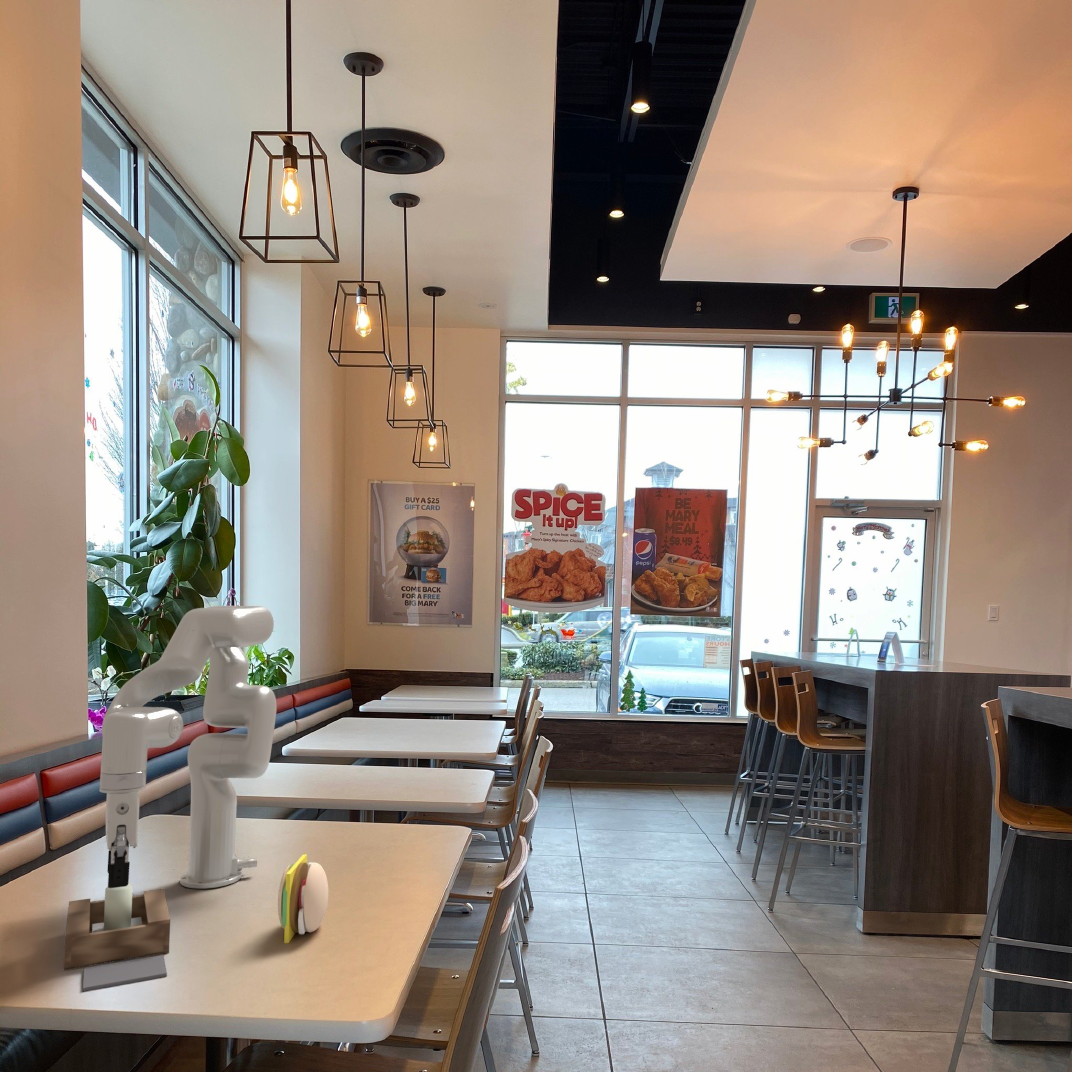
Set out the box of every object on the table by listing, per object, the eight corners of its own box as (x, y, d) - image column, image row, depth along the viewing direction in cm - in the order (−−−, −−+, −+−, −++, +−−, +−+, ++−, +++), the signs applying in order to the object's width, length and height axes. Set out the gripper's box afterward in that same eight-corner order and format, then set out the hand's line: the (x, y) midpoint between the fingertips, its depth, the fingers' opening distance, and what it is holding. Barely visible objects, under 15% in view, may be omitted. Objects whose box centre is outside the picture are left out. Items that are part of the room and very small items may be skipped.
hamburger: (318, 942, 151) (319, 873, 152) (271, 943, 151) (273, 874, 152) (332, 918, 163) (334, 854, 164) (289, 918, 163) (291, 854, 164)
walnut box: (162, 918, 162) (163, 888, 163) (169, 952, 146) (170, 919, 147) (67, 932, 155) (69, 901, 156) (63, 970, 139) (65, 935, 140)
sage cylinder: (130, 921, 154) (132, 882, 155) (131, 929, 150) (132, 889, 151) (103, 925, 152) (105, 885, 153) (103, 934, 148) (105, 892, 149)
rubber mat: (163, 958, 144) (163, 954, 144) (166, 976, 137) (166, 973, 137) (83, 971, 139) (84, 968, 139) (82, 991, 132) (83, 988, 132)
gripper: (148, 787, 147) (142, 889, 145) (143, 772, 162) (138, 864, 161) (99, 791, 144) (93, 896, 142) (99, 775, 159) (94, 869, 157)
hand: (117, 879), depth 151 cm, fingers open, 9 cm apart
